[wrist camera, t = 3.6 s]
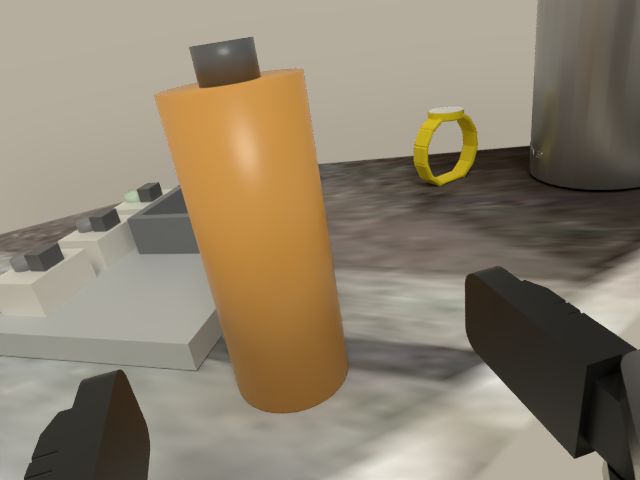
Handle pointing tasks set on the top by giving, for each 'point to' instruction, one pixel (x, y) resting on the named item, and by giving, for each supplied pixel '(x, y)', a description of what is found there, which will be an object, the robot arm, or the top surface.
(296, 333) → the orange thermos flask
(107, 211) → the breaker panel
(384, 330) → the top surface
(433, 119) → the watch
